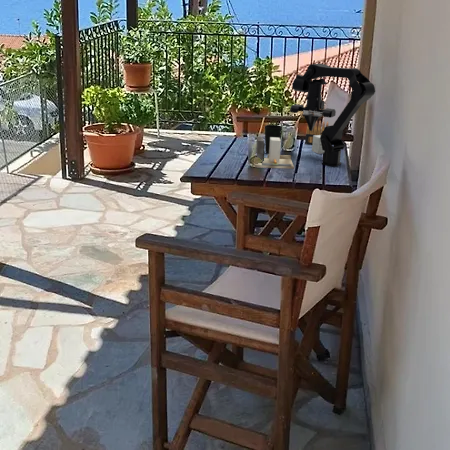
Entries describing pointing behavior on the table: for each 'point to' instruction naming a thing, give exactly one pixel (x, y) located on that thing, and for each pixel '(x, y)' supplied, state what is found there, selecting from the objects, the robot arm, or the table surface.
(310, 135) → the ammunition clip
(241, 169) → the table surface
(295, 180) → the table surface
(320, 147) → the skincare box
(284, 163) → the frame
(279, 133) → the cup
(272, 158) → the gauge slider
